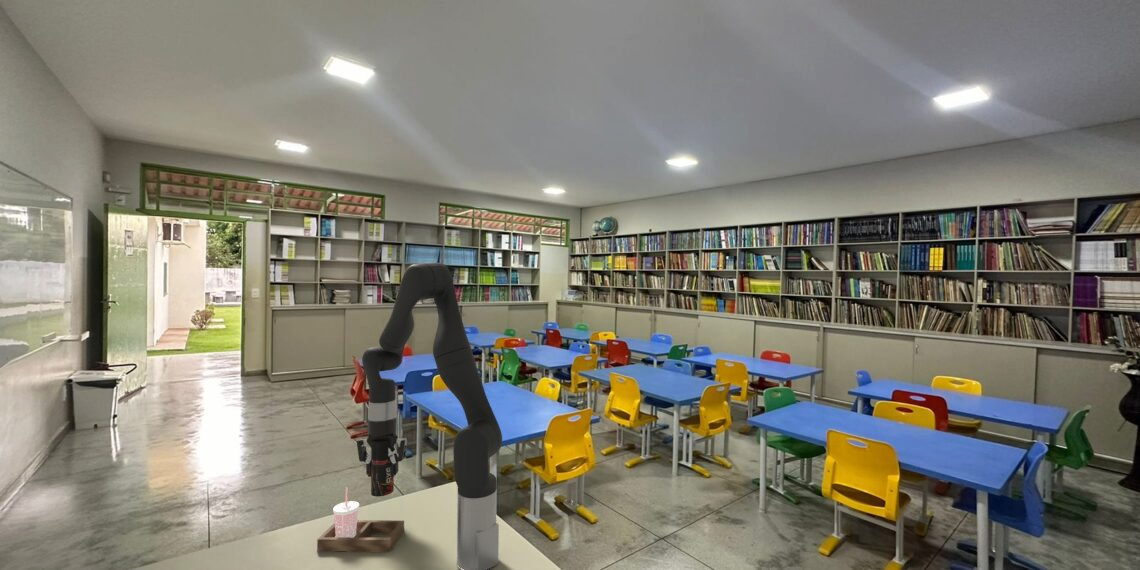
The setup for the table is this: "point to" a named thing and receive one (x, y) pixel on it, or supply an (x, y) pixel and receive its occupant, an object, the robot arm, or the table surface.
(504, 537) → the table surface
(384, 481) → the deodorant
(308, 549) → the table surface
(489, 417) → the robot arm
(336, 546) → the divided wooden tray
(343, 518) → the beverage cup
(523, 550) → the table surface
